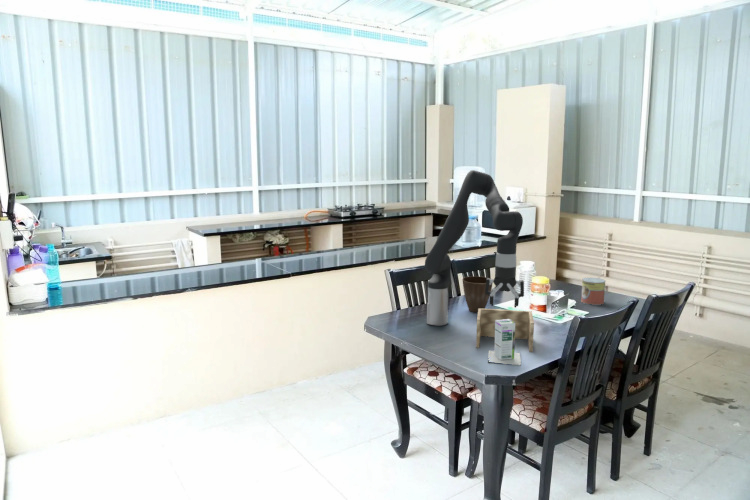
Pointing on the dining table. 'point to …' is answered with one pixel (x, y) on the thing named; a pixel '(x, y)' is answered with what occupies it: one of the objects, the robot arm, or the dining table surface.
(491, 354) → the grey mat
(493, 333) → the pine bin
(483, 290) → the plant pot
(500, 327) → the syrup box
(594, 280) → the canned food
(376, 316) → the dining table surface
